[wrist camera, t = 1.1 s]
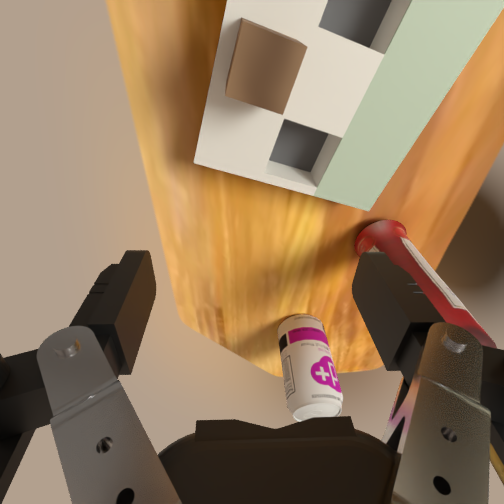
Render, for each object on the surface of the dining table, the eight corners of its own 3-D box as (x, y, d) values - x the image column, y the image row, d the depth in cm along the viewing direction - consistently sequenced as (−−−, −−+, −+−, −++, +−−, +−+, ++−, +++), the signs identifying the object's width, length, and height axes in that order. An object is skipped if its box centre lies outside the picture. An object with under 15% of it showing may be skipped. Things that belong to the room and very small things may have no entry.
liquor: (405, 245, 43) (574, 488, 22) (354, 261, 45) (465, 502, 23) (402, 205, 39) (610, 461, 17) (345, 224, 40) (473, 481, 19)
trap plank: (197, 147, 33) (193, 163, 30) (255, -131, 20) (258, -153, 17) (357, 193, 37) (368, 211, 34) (481, -11, 25) (516, -12, 22)
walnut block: (226, 82, 25) (224, 95, 22) (241, 17, 22) (242, 21, 19) (276, 99, 26) (282, 115, 23) (296, 39, 23) (307, 46, 20)
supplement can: (302, 305, 51) (322, 395, 39) (331, 324, 55) (357, 411, 43) (267, 327, 54) (276, 415, 43) (297, 344, 58) (312, 429, 47)
